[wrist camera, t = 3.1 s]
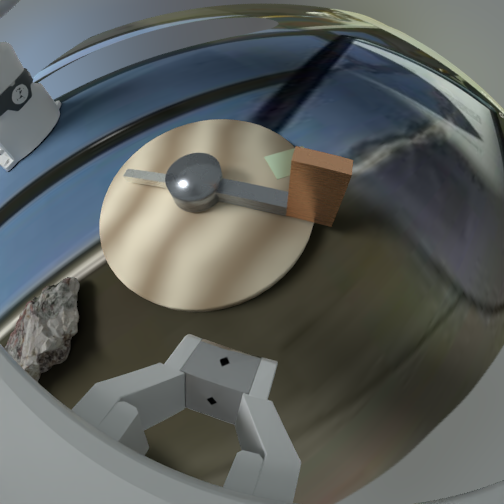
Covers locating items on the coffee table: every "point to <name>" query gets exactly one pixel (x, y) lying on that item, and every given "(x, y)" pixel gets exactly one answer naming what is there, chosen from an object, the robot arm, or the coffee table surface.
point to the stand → (202, 222)
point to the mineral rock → (46, 328)
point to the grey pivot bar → (257, 186)
